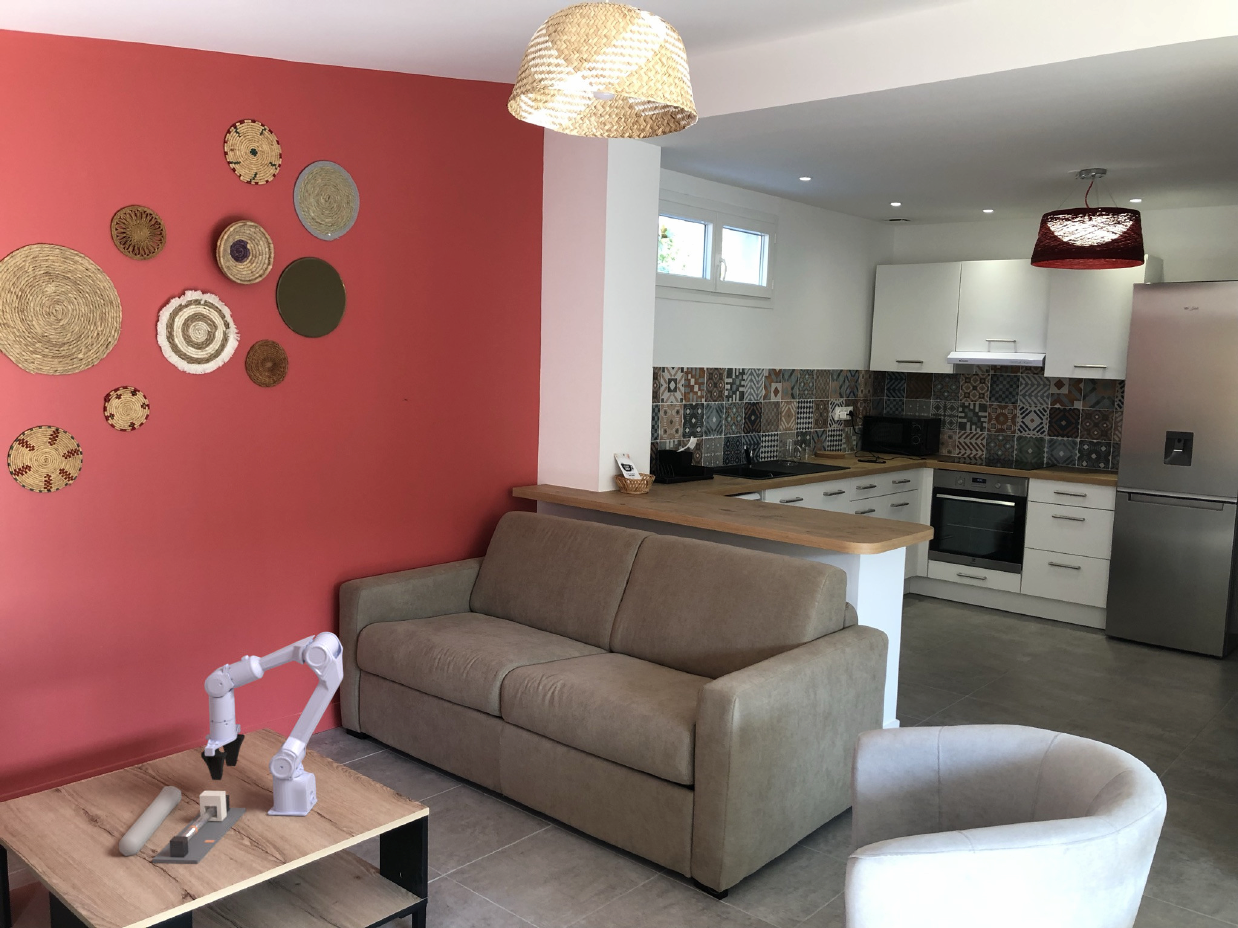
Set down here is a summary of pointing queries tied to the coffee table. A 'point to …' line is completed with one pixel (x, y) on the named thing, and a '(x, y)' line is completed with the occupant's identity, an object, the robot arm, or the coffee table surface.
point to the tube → (149, 821)
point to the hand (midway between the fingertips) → (224, 772)
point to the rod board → (198, 836)
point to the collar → (214, 804)
